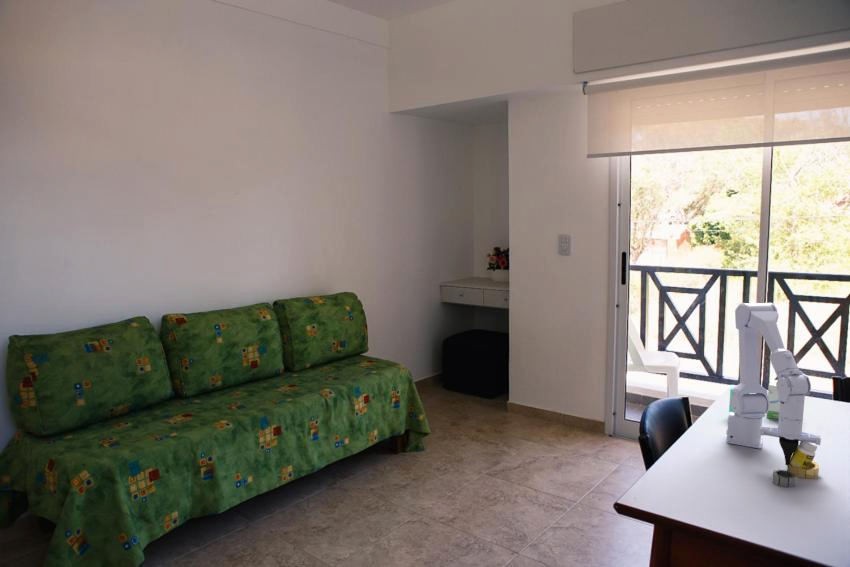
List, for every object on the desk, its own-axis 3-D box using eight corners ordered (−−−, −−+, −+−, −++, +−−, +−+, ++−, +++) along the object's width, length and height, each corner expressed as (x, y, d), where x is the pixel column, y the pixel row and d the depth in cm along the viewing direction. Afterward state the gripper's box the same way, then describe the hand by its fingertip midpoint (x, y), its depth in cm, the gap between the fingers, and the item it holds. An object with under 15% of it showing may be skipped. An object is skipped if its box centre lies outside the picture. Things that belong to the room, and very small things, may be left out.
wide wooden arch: (787, 475, 166) (787, 466, 166) (787, 464, 173) (787, 455, 172) (818, 481, 162) (819, 472, 162) (817, 469, 169) (818, 461, 169)
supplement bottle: (800, 475, 165) (812, 448, 163) (784, 464, 169) (796, 438, 167) (810, 473, 167) (822, 447, 165) (793, 463, 171) (805, 437, 169)
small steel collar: (772, 484, 160) (772, 475, 160) (772, 477, 165) (773, 468, 164) (794, 489, 158) (795, 480, 157) (794, 481, 162) (795, 472, 162)
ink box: (782, 420, 207) (785, 387, 206) (766, 417, 210) (768, 384, 208) (784, 413, 214) (786, 380, 213) (768, 410, 217) (770, 378, 215)
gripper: (760, 416, 168) (757, 463, 169) (822, 426, 160) (818, 475, 162) (761, 409, 174) (758, 454, 175) (821, 418, 166) (817, 465, 168)
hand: (787, 463), depth 169 cm, fingers closed, pressing on supplement bottle
